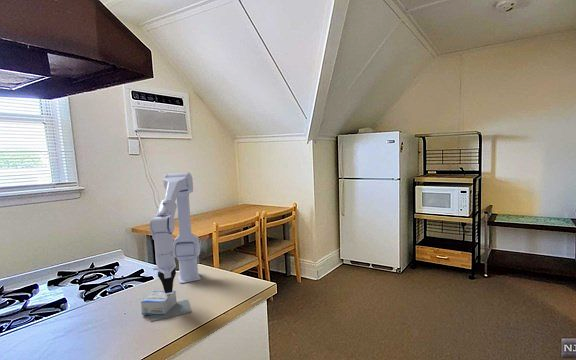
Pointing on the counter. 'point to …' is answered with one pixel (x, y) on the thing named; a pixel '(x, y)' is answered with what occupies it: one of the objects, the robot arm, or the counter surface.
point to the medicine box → (158, 302)
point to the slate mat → (173, 311)
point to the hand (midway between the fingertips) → (168, 292)
